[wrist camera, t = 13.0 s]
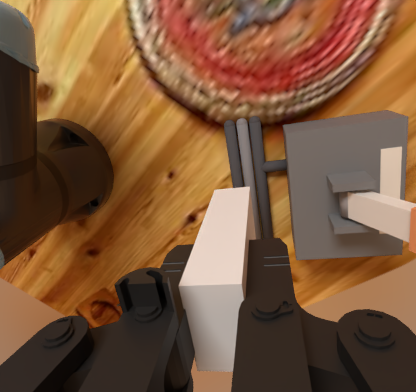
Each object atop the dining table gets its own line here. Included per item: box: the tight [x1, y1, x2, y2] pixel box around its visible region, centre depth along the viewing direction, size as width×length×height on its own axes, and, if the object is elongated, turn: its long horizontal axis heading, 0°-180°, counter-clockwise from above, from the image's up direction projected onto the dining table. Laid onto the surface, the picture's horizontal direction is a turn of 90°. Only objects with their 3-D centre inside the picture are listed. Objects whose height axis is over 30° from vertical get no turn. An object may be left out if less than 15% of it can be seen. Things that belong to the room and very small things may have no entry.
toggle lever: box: [339, 190, 416, 253], centre depth 30 cm, size 2×4×11 cm
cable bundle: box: [224, 116, 287, 239], centre depth 42 cm, size 8×19×1 cm, turn 10°
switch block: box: [283, 110, 408, 260], centre depth 36 cm, size 12×16×10 cm
